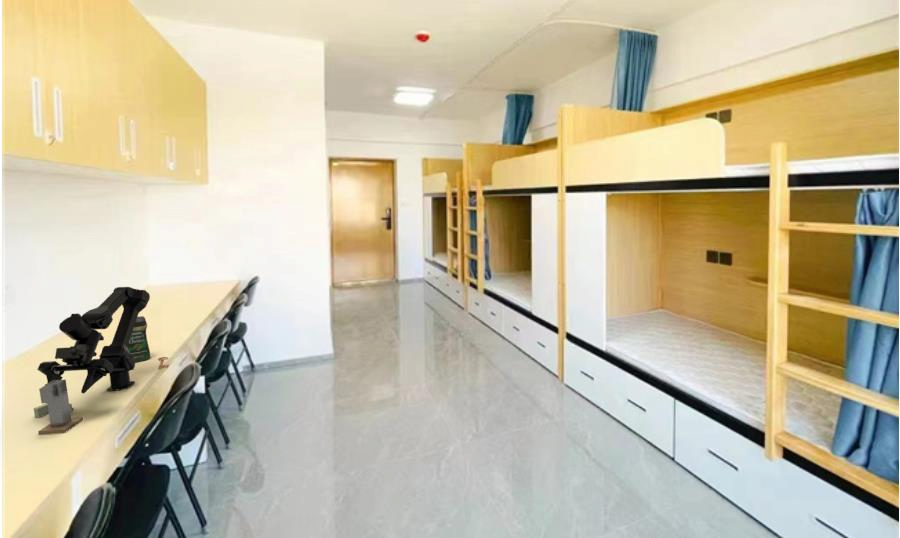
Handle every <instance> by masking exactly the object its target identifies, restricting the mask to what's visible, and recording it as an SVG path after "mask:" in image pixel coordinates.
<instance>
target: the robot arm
mask: <svg viewBox="0 0 900 538" xmlns="http://www.w3.org/2000/svg"><path fill="white" fill-rule="evenodd" d="M150 298H151V296H150V293H149V292H148V291H147V290H146V289H139V288H138V289H137V288H133V287H130V286H117V287H115V288H114V289H113V292H112V293H111V294H109V295H108V297H107V298H105V300H103V302H102V303H101V304H100V305H99V306H97V307H95V308H92V309H89V310H87V311H86V312H85V313H84V314H82V315H81V313H71V315H70V316H69V317H66V318H65V319H63V320H62V321H61V322H60V323H59V326H58V328H59V330H60V332H62V333H63V334H64V335H66V336H67V337H69V339H71V340H73V341H75V343H74V345H73V346H70V347H69V346H68V347H56V349H55V356H54V359H55V360H53V361H51V360H50V361H49V360H48V361H42V362H41V363H39V365H38V367H37V371H38V372H40V373H42V374H43V375H45V377H46V381H47V382H46V384H47V383H49V382H51V381H53V380H63V376H62V375H64V374H65V372H71V371H73V372H75V371H86V372H87V375H86V377H85V379H84V383H83V384H82V387H81V391H80V393H82V394H86V392H87V391H88V390H89V389H91V388H92V387H93V386H94V385H95V384H96V383H98V381H100V380H101V379H103V377H107V375H109V382H110V386H109V387H108V388H106V391H107V390H108V391H119V390H127V389H128V388H130V387H131V386H132V385H134V384H135V383H136V381H135V380H132V381H131V378H130V372H131V371H133V370H134V369H135V367H136V362H135V361H134V360H133V359H132V358H130V352H129V350H128V344H129V341H130V338H131V335H132V332H133V329H134V326H135V323H136V320H137V317H139V314H140V312H142V311H143V310H144V309H146V307H147V305H148V303H149V301H150ZM121 306H122V308H123V310H122V313H121V316H120V319H119V321H118V324H117V326H116V330H115V332H114V335H113V338H112V342H111V344H109V345H104V346H103V347H101V349H102V350H101V353H100V354H99V356H98V357H99V358H94V359H93V357H97V354H98V353H97V352H96V350H97V347H98V345H99V342H100V341H104V340H105V338H104V336H103V334H102V332H99V331H98V330H106V329H108V328H109V327H110V325H111V323H112V322H113V320H114V319H113V315H114V314H115V313H116V312H117V310H119V308H121ZM58 359H59V360H61V361H62V362H63V363H64V364H60V363H59V362H57V361H56V360H58ZM108 391H107V392H108Z"/></svg>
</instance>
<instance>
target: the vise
mask: <svg viewBox="0 0 900 538" xmlns="http://www.w3.org/2000/svg"><path fill="white" fill-rule="evenodd" d="M69 406H70V412H71V414H73V413H74V412H75V409H74V407H73V406H72V403H69ZM73 411H74V412H73ZM72 412H73V413H72ZM33 413H34V418H38V419H39V418H43V417H44V416H47V415H49V411H48V404H47V403H42V405H38V406H36V407H34V408H33Z"/></svg>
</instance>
